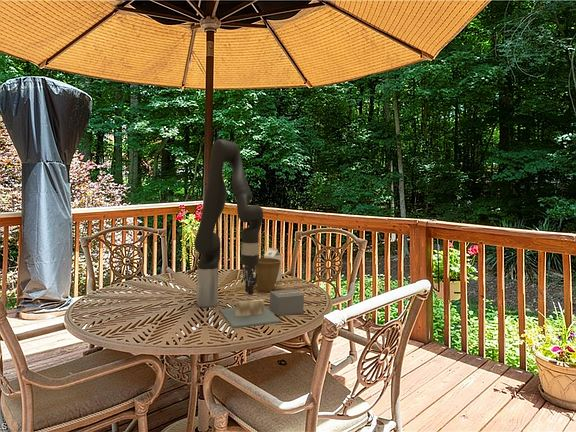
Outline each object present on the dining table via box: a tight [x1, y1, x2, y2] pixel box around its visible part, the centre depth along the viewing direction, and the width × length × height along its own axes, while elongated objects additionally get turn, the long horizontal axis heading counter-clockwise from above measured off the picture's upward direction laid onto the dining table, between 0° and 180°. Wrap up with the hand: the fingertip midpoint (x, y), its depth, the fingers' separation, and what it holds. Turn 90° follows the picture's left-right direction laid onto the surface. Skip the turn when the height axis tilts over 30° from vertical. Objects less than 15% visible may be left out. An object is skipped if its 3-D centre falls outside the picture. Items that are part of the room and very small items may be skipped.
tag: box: [234, 299, 265, 317], centre depth 172 cm, size 6×2×12 cm
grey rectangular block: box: [269, 288, 305, 317], centre depth 180 cm, size 12×10×9 cm
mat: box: [219, 306, 282, 329], centre depth 172 cm, size 20×22×1 cm
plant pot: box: [255, 257, 282, 293], centre depth 213 cm, size 15×15×16 cm
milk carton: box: [263, 247, 282, 283], centre depth 233 cm, size 7×7×19 cm
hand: (249, 293), depth 171 cm, fingers open, 3 cm apart
